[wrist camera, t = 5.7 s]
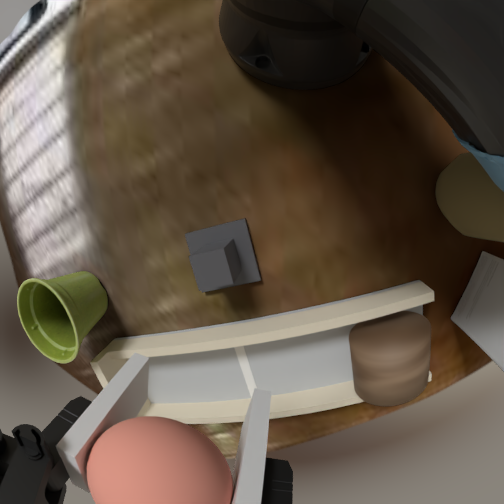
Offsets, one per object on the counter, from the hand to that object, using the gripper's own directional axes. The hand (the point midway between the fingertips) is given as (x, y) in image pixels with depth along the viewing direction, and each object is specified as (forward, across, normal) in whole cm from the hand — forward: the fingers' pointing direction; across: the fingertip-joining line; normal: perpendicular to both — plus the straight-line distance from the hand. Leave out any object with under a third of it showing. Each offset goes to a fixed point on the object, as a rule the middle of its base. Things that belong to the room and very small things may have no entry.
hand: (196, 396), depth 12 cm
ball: (-5, 0, 0) cm, 5 cm away
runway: (+17, +4, -8) cm, 20 cm away
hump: (+17, +16, -2) cm, 23 cm away
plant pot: (+18, -18, -7) cm, 26 cm away
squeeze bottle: (+17, +19, +15) cm, 30 cm away
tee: (+17, -2, +2) cm, 17 cm away
